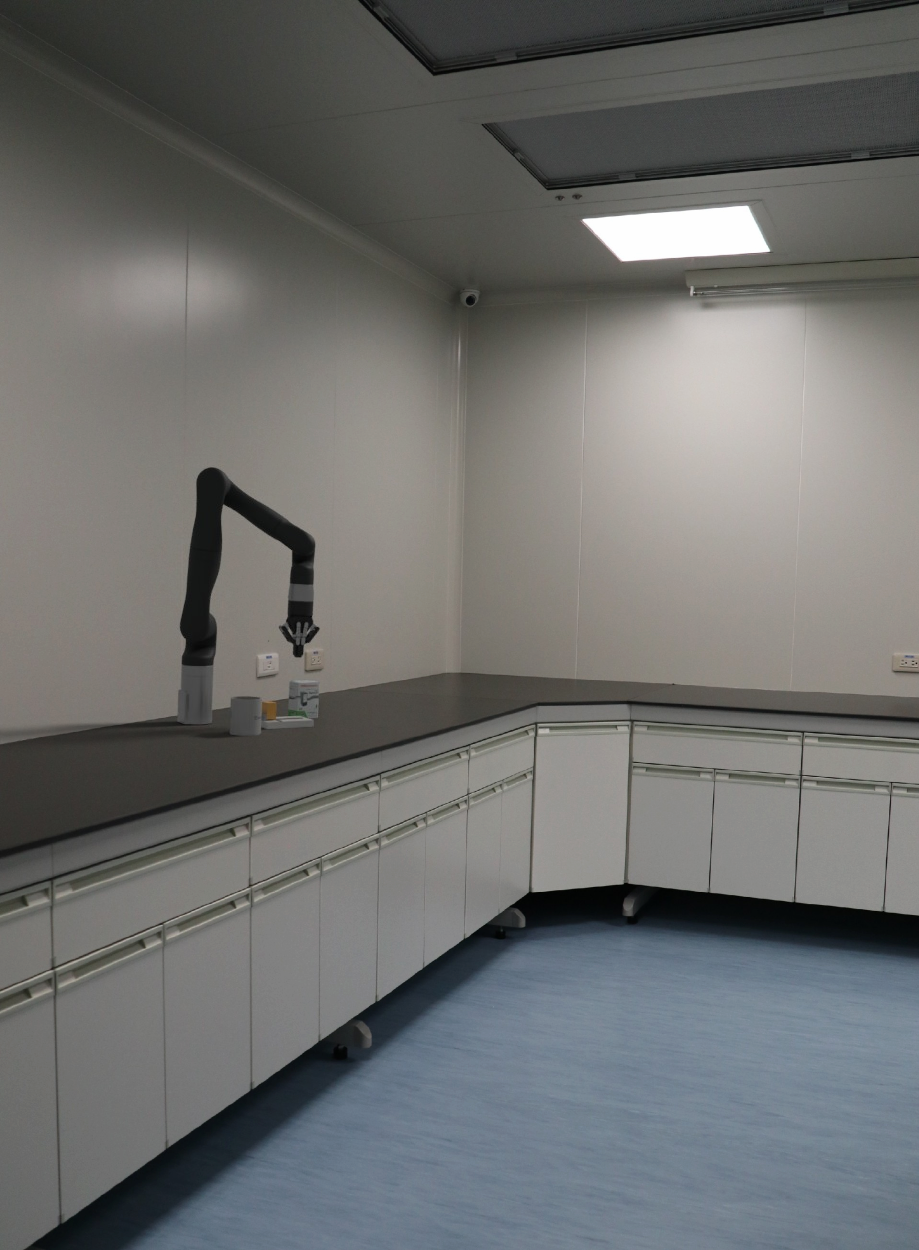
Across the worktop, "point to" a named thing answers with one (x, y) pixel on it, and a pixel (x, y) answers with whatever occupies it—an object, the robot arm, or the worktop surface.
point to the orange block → (269, 709)
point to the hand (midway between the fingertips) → (297, 657)
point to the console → (285, 722)
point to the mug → (245, 715)
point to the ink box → (303, 698)
